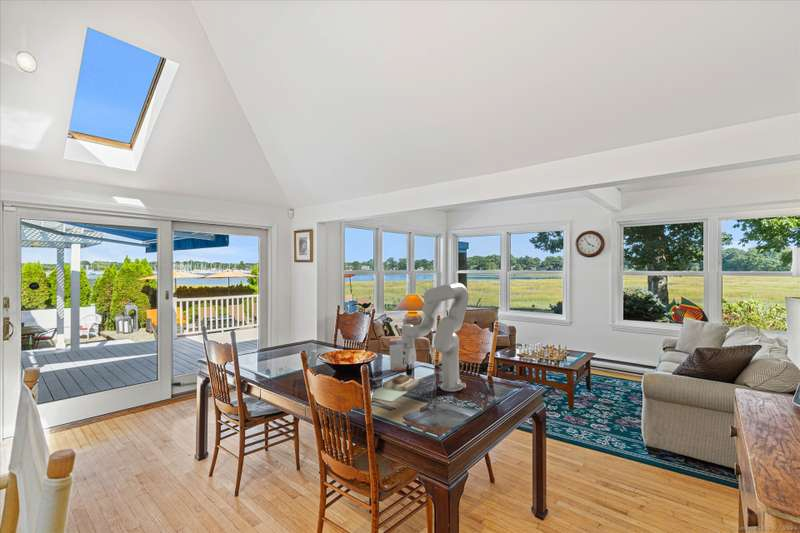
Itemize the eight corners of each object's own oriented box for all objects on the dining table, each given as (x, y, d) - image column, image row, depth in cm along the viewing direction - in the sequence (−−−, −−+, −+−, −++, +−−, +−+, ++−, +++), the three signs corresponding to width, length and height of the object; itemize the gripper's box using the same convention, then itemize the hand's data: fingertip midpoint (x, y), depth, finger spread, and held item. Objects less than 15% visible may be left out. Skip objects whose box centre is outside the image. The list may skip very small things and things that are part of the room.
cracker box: (412, 368, 255) (410, 337, 255) (411, 371, 249) (410, 339, 249) (391, 368, 257) (390, 338, 256) (390, 371, 251) (389, 340, 250)
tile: (409, 379, 223) (409, 375, 223) (401, 384, 216) (400, 380, 215) (400, 378, 226) (400, 374, 226) (392, 383, 219) (392, 378, 219)
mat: (407, 392, 210) (407, 391, 210) (391, 401, 196) (391, 401, 196) (381, 387, 220) (381, 386, 220) (364, 396, 206) (364, 395, 206)
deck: (418, 384, 223) (418, 379, 222) (406, 391, 211) (406, 387, 211) (396, 380, 231) (396, 376, 231) (383, 387, 219) (382, 383, 219)
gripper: (407, 348, 221) (408, 379, 221) (419, 342, 233) (420, 372, 234) (396, 346, 225) (397, 377, 225) (409, 341, 237) (410, 370, 238)
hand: (409, 374), depth 230 cm, fingers closed
